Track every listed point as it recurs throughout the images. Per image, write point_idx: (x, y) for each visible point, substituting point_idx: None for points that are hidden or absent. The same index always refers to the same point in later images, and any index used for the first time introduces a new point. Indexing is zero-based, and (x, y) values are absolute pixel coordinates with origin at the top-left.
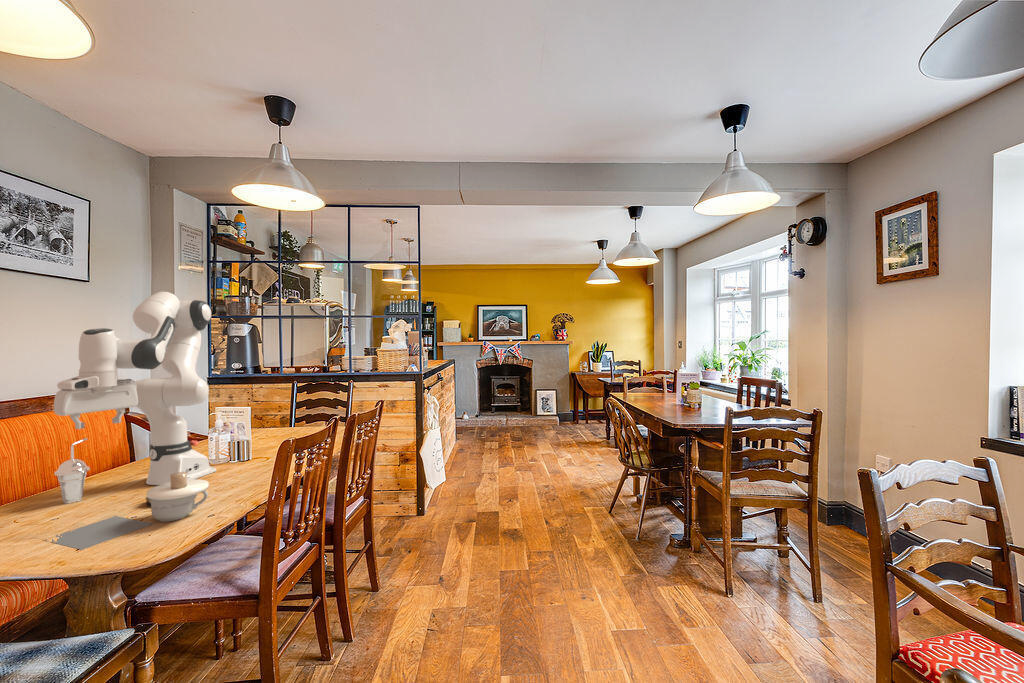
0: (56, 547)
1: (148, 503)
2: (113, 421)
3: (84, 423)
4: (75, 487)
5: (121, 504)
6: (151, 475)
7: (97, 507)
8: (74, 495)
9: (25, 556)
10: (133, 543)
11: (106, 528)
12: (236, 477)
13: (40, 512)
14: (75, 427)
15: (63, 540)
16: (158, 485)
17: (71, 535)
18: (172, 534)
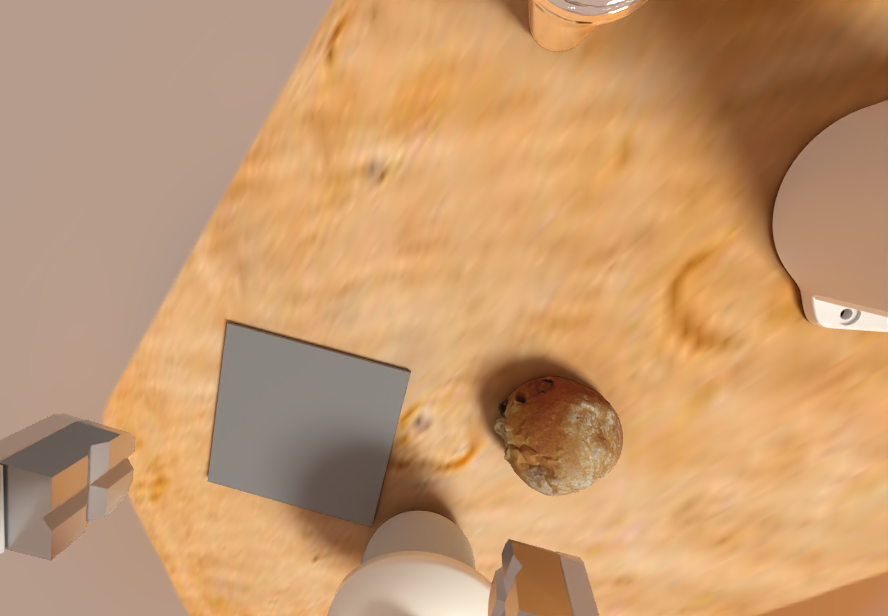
0: (211, 399)
1: (502, 411)
2: (501, 579)
3: (60, 549)
4: (552, 28)
5: (527, 279)
6: (827, 180)
7: (492, 215)
8: (545, 38)
9: (158, 374)
10: (269, 556)
11: (322, 430)
12: (868, 484)
13: (425, 27)
14: (49, 421)
15: (237, 387)
16: (428, 565)
17: (265, 378)
18: (327, 604)
